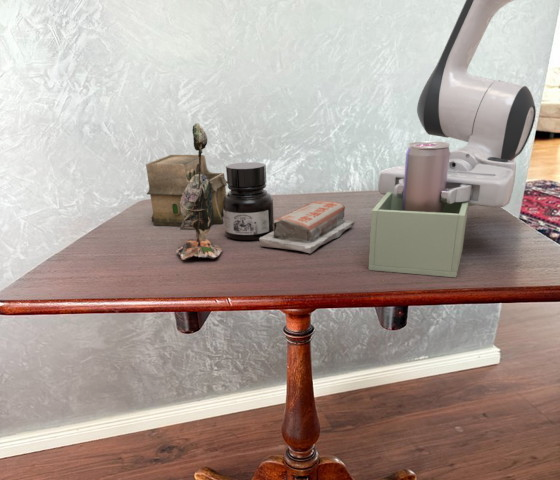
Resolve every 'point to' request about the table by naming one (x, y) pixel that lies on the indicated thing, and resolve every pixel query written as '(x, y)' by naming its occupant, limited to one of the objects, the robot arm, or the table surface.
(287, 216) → the packaged product
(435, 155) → the beverage can
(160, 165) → the miniature house
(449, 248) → the waste bin
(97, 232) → the table surface
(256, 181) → the ink bottle
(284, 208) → the table surface
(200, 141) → the plant with pod
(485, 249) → the table surface
